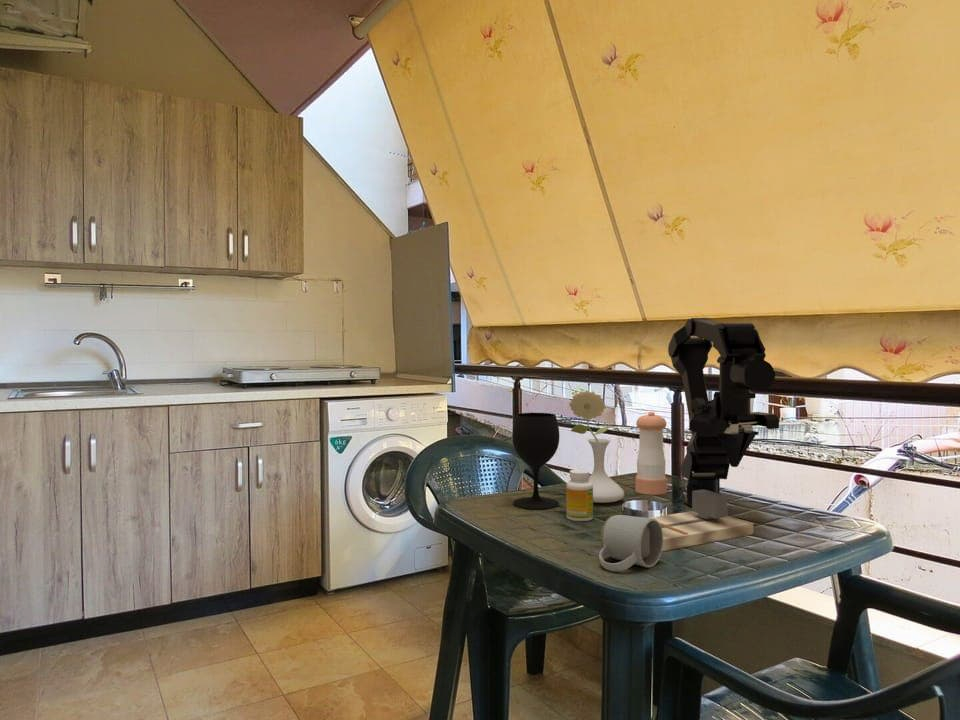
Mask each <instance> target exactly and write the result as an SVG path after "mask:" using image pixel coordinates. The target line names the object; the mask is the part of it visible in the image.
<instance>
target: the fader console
mask: <svg viewBox="0 0 960 720" xmlns="http://www.w3.org/2000/svg"><path fill="white" fill-rule="evenodd" d="M698 514H699V513H696V512H693V511H692V510H690V511H685V512H678V513H671V514H666V515H659V516H652V517H650V518H653V519H656V520H657V521H658V522H659V523H660V525H661V528H662V532H663V548H662V552H665V551H669V550H670V551H671V550H675V549H681V548H687V547H693V546H697V545H704V544H709V543H713V542H720V541H725V540H731V539H735V538H740V537H746V536H751V535H754V523H753V522H750V521H746V520H742V519H739V518H735V517H733V516H729V515H727V517H723V518H717V519H715V518H712V519H705V518H702V517H698Z"/></svg>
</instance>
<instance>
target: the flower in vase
mask: <svg viewBox="0 0 960 720" xmlns="http://www.w3.org/2000/svg"><path fill="white" fill-rule="evenodd" d="M570 401H571V402H569V403H568V405H569V407H570V410H571V411H572V413H573V415H574V416H577V418H580V417H582V419H583V420H586V425H584V424H582V423H581V424H580V423H579V424H577V425H575V426H574V427H572V429H571V430H570V432H573V433H577V434H579V435H580V434H581V435H583V434H586V433H587V432H588V430H589V432H590V433H591V434H592V436H593V437H594V438H590V439H588V440H587V441H588V443H589V444H590V446H591V449H592V453H593V471H592V473H591V474H590V476H589V479H588V481H590V482H591V483H592V484H593V503H596V504H604V503H605V504H606V503H614V502H618V501H620V500H622V499H623V498H624V497H625V492H624V489H623V488H621V487H622V486H620V485H619V484H618V483H617V482H616V481H614V479H612V478H611V477H610V476H609V475H608V474H607V473H606V470H605V455H606V450H607V447H608V445H609V444H610V443H611V440H610V439H607V438H598V437H596V435H600V434H604V433H605V432H606V431H607V430H608V429H609V428H610V427H611V424H608V425H607V426H604V427H601V428H599V429H598V430H597V431H596V432H595V433H594V432H593V430H592V429H591V427H590V424H589V420H592V419H596V418H598V417H601V416H602V415H603V413H604V411H605V409H606V403H605V401H604V399H603V398H602V397H601V394H596V393H595V392H594V391H589V390H585V391H583V390H581V391H579V393H575V394H574V395H573V396H572V398H571V400H570Z"/></svg>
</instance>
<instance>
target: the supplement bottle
mask: <svg viewBox="0 0 960 720" xmlns="http://www.w3.org/2000/svg"><path fill="white" fill-rule="evenodd" d="M590 475H591V474H590V471H589V470H587V469H571V470H569V479H570V480H568V482H566V503H565V504H566V505H565V506H566V507H565V508H566V509H565V511H566V514H565V515H566V518H567V519H568V520H570V521H573V522H588V521H591V520H593V518H594V502H593V484H592V483H591V482H590V481H588V479H589V476H590Z"/></svg>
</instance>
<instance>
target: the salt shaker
mask: <svg viewBox="0 0 960 720" xmlns="http://www.w3.org/2000/svg"><path fill="white" fill-rule="evenodd" d="M635 425H636V427H637V428H638V429H639V442H638V443H639V445H638V447H639V448H638V455H637V459H636V460H637V461H636V475H635V491H636V492H637V493H638V494H642V495H652V496H657V495H659V496H660V495H665V494H667V493H668V490H667V488H668V484H667V483H668V479H667V476H666V457H665V451H664V430H665V429H666V427H667V421H666V419H665V417H662V416H660V415H657V414H656V413H655V412H654V411H649V412H648V413H647V414H645V415H642V416H639V417H638V418H637V420H636V424H635Z"/></svg>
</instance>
